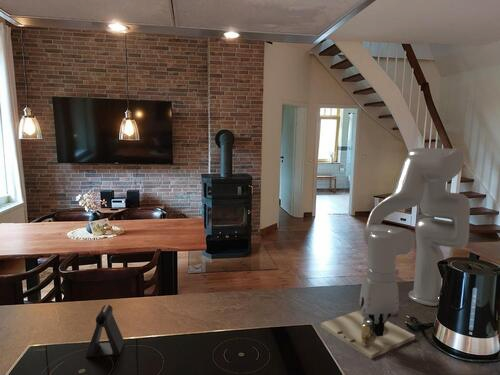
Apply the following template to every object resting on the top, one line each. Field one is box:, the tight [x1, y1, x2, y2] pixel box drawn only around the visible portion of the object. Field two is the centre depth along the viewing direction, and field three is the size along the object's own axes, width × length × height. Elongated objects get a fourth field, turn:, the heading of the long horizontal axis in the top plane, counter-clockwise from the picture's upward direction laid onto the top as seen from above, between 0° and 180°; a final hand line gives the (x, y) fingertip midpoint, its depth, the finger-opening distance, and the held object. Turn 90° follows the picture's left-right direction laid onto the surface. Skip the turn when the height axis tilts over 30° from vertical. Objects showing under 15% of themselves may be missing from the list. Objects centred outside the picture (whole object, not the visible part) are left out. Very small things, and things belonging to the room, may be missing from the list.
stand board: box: [320, 308, 416, 360], centre depth 110 cm, size 20×20×2 cm
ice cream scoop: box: [361, 317, 373, 345], centre depth 107 cm, size 16×6×5 cm, turn 149°
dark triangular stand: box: [85, 304, 125, 358], centre depth 99 cm, size 9×6×12 cm, turn 98°
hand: (377, 333), depth 103 cm, fingers closed
